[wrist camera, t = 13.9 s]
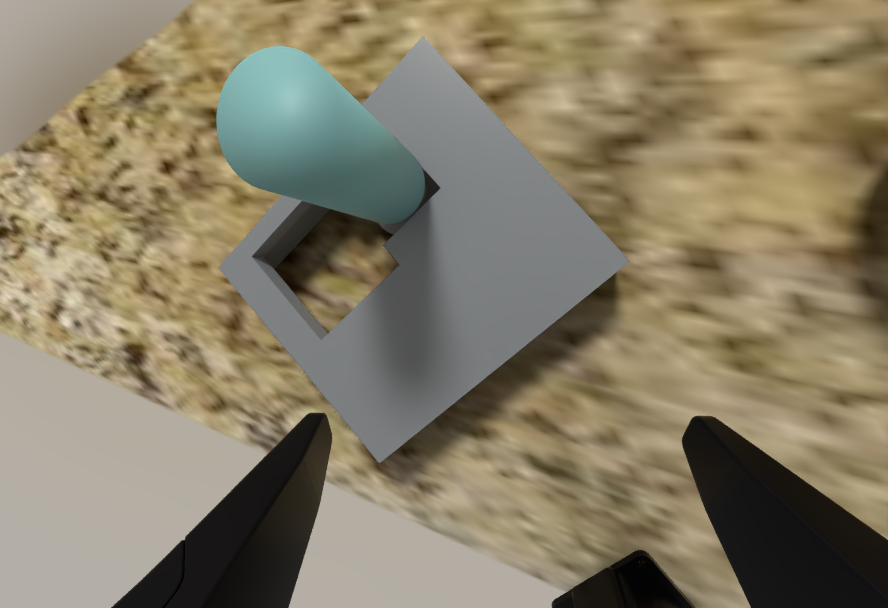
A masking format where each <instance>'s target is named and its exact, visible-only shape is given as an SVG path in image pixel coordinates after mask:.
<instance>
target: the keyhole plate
mask: <svg viewBox="0 0 888 608" xmlns="http://www.w3.org/2000/svg"><path fill="white" fill-rule="evenodd" d="M362 106H363V107H364V108H365V109H366V110H367V111H368V112H369V113H370V114H371V115H372V116H373V117H374V118H375V119H376V120H377V121H379V122H380V123H381V124H382V125H383V126H384V127H385V128H386V129H387V130H388V131H389V132H390V133H391V134H392V135H393V136H394V137H395V138H396V139H397V140H398V141H399V142H400V143H401V144H402V145H403V146H404V147H405V148H406V149H407V150H408V151H409V152H410V153H412V154H413V155H414V156H415V158H416V159H417V160H418V162H419V163H420V165H421V166H422V168H423V169H424V170H425V171H426V172H427V173H428V174H429V175H430V177H431V178H432V179H433V180H434V181H435V182H436V183H437V184H438V186H439V187H440V189H439V190H438V191H437V192H436V193H435V194H434V195H433V196H432V197H431V198H430V199H429V200H428V201H427V202H426V203H425V204H424V205H423V206H422V207H421V208H420V209H419V210H418V211H417V212H416V213H415V214H414V215H413V216H412V217H411V218H410V219H409V220H408V221H407V222H406V223H405V224H404V225H403V226H402V227H401V228H400V229H399V230H398V231H397V232H396V233H395V234H394V235H393V236H392V237H391V238H390V239H389V240H388V241H387V242H386V243H385V244H384V245H383V246H384V247H385V248H386V249H387V251H388V252H389V253H390V254H391V255H392V256H393V258H394V259H395V260H396V261H397V262H398V263H399V266H398V267H397V268H396V269H395V270H394V271H393V272H392V273H391V274H390V275H389V276H387V277H386V278H385V279H384V280H383V281H382V282H381V283H380V284H379V285H378V286H377V287H376V288H375V289H374V290H373V291H372V292H371V293H370V294H369V295H368V296H367V297H366V298H365V299H364V300H362V301H361V302H360V303H359V304H358V305H357V306H356V307H355V308H354V309H353V310H352V311H351V312H350V313H349V314H348V315H347V316H346V317H345V318H344V319H343V320H342V321H341V322H340V323H339V324H337V325H336V326H335V327H334V328H333V329H332V330H331V331H330V332H329V333H327V332H326V331H325V330H324V329H323V327H322V326H321V325H320V324H319V323H318V321H317V320H316V319H315V318H314V317H313V315H312V314H311V313H310V312H309V311H308V309H307V308H306V307H305V306H304V305H303V303H302V302H301V301H300V300H299V299H298V297H297V296H296V295H295V294H294V293H293V291H292V290H291V289H290V288H289V287H288V285H287V284H286V283H285V282H284V281H283V279H282V278H281V277H280V276H279V275H278V273H277V272H276V271H275V270H274V269H275V268H276V267H277V266H278V265H279V264H280V263H281V262H282V261H283V260H284V259H285V258H286V256H287V255H288V254H289V253H290V252H291V251H292V250H293V249H294V248H295V247H296V246H297V245H298V244H299V243H300V242H301V240H302V239H303V238H304V237H305V236H306V235H307V234H308V233H309V232H310V231H311V230H312V229H313V228H314V227H315V225H316V224H317V223H318V222H319V221H320V220H321V219H322V218H323V217H324V216H325V215H326V214H327V213H328V212H329V210H330V209H329V208H325V207H322V206H318V205H315V204H311V203H308V202H304V201H301V200H297V199H294V198H290V197H287V196H284V195H282V196H281V197H280V198H279V199H278V200H277V202H276V203H275V204H274V205H273V206H272V207H271V208H270V210H269V211H268V212H267V213H266V214H265V215H264V216H263V217H262V219H261V220H260V221H259V222H258V223H257V224H256V225H255V227H254V228H253V229H252V230H251V231H250V232H249V233H248V234H247V236H246V237H245V238H244V239H243V240H242V241H241V242H240V243H239V245H238V246H237V247H236V248H235V249H234V250H233V251H232V253H231V254H230V255H229V256H228V257H227V258H226V259H225V260H224V262H223V263H222V264H221V265H220V266H219V267H218V268H219V269H220V270H221V271H222V273H223V274H224V275H225V276H226V277H227V279H228V280H229V281H230V282H231V284H232V285H233V286H234V287H235V288H236V290H237V291H238V292H239V293H240V294H241V296H242V297H243V298H244V299H245V301H246V302H247V303H248V304H249V305H250V307H251V308H252V309H253V310H254V311H255V313H256V314H257V315H258V316H259V318H260V319H261V320H262V321H263V322H264V324H265V325H266V326H267V327H268V329H269V330H270V331H271V332H272V333H273V335H274V336H275V337H276V338H277V339H278V341H279V342H280V343H281V344H282V346H283V347H284V348H285V349H286V350H287V352H288V353H289V354H290V355H291V356H292V358H293V359H294V360H295V361H296V363H297V364H298V365H299V366H300V367H301V369H302V370H303V371H304V372H305V373H306V375H307V376H308V377H309V378H310V380H311V381H312V382H313V383H314V384H315V386H316V387H317V388H318V389H319V391H320V392H321V393H322V394H323V395H324V397H325V398H326V399H327V400H328V401H329V403H330V404H331V405H332V406H333V408H334V409H335V410H336V411H337V412H338V414H339V415H340V416H341V417H342V418H343V420H344V421H345V422H346V423H347V425H348V426H349V427H350V428H351V429H352V431H353V432H354V433H355V434H356V435H357V437H358V438H359V439H360V440H361V442H362V443H363V444H364V445H365V446H366V448H367V449H368V450H369V451H370V452H371V454H372V455H373V456H374V457H375V459H376V460H377V461H378V462H379V463H381V462H382V461H383V460H384V459H386V458H387V457H388V456H389V455H391V454H392V453H393V452H394V451H395V450H397V449H398V448H399V447H400V446H402V445H403V444H404V443H405V442H407V441H408V440H409V439H410V438H412V437H413V436H414V435H415V434H417V433H418V432H419V431H420V430H422V429H423V428H424V427H425V426H426V425H428V424H429V423H430V422H431V421H433V420H434V419H435V418H436V417H438V416H439V415H440V414H441V413H443V412H444V411H445V410H446V409H448V408H449V407H450V406H451V405H453V404H454V403H455V402H456V401H457V400H459V399H460V398H461V397H462V396H464V395H465V394H466V393H467V392H469V391H470V390H471V389H472V388H474V387H475V386H476V385H477V384H479V383H480V382H481V381H482V380H484V379H485V378H486V377H487V376H488V375H490V374H491V373H492V372H493V371H495V370H496V369H497V368H498V367H500V366H501V365H502V364H503V363H505V362H506V361H507V360H508V359H510V358H511V357H512V356H513V355H514V354H516V353H517V352H518V351H519V350H521V349H522V348H523V347H524V346H526V345H527V344H528V343H529V342H531V341H532V340H533V339H534V338H536V337H537V336H538V335H539V334H541V333H542V332H543V331H544V330H545V329H547V328H548V327H549V326H550V325H552V324H553V323H554V322H555V321H557V320H558V319H559V318H560V317H562V316H563V315H564V314H565V313H567V312H568V311H569V310H570V309H572V308H573V307H574V306H575V305H576V304H578V303H579V302H580V301H581V300H583V299H584V298H585V297H586V296H588V295H589V294H590V293H591V292H593V291H594V290H595V289H596V288H598V287H599V286H600V285H601V284H603V283H604V282H605V281H606V280H607V279H609V278H610V277H611V276H612V275H614V274H615V273H616V272H617V271H619V270H620V269H621V268H622V267H624V266H625V265H626V264H627V263H629V262H630V261H629V260H628V259H627V257H626V256H625V255H624V254H623V253H622V252H621V251H620V250H619V249H618V248H617V247H616V245H615V244H614V243H613V242H612V241H611V240H610V239H609V238H608V237H607V236H606V235H605V233H604V232H603V231H602V230H601V229H600V228H599V227H598V226H597V225H596V224H595V223H594V221H593V220H592V219H591V218H590V217H589V216H588V215H587V214H586V213H585V212H584V211H583V210H582V208H581V207H580V206H579V205H578V204H577V203H576V202H575V201H574V200H573V199H572V198H571V196H570V195H569V194H568V193H567V192H566V191H565V190H564V189H563V188H562V187H561V186H560V184H559V183H558V182H557V181H556V180H555V179H554V178H553V177H552V176H551V175H550V174H549V173H548V171H547V170H546V169H545V168H544V167H543V166H542V165H541V164H540V163H539V162H538V161H537V159H536V158H535V157H534V156H533V155H532V154H531V153H530V152H529V151H528V150H527V149H526V147H525V146H524V145H523V144H522V143H521V142H520V141H519V140H518V139H517V138H516V137H515V136H514V134H513V133H512V132H511V131H510V130H509V129H508V128H507V127H506V126H505V125H504V124H503V122H502V121H501V120H500V119H499V118H498V117H497V116H496V115H495V114H494V113H493V112H492V110H491V109H490V108H489V107H488V106H487V105H486V104H485V103H484V102H483V101H482V100H481V98H480V97H479V96H478V95H477V94H476V93H475V92H474V91H473V90H472V89H471V88H470V87H469V85H468V84H467V83H466V82H465V81H464V80H463V79H462V78H461V77H460V76H459V75H458V73H457V72H456V71H455V70H454V69H453V68H452V67H451V66H450V65H449V64H448V63H447V61H446V60H445V59H444V58H443V57H442V56H441V55H440V54H439V53H438V52H437V51H436V50H435V48H434V47H433V46H432V45H431V44H430V43H429V42H428V41H427V40H426V39H425V38H424V36H422V38H421V39H420V40H419V41H418V42H417V43H416V44H415V46H414V47H413V48H412V49H411V50H410V51H409V52H408V53H407V55H406V56H405V57H404V58H403V59H402V60H401V61H400V62H399V64H398V65H397V66H396V67H395V68H394V69H393V70H392V72H391V73H390V74H389V75H388V76H387V77H386V78H385V79H384V81H383V82H382V83H381V84H380V85H379V86H378V87H377V88H376V90H375V91H374V92H373V93H372V94H371V95H370V96H369V98H368V99H367V100H366V101H365V102H364V103H363V104H362Z"/></svg>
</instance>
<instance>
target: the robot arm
mask: <svg viewBox="0 0 888 608" xmlns="http://www.w3.org/2000/svg"><path fill="white" fill-rule="evenodd" d="M331 444H332V433H331V429H330V425H329V422H328V418H327V415H326V414H325V413H309V414H307V415H306V416H305V417H304V418H303V419H302V420H301V421H300V422H299V423H298V424H297V425H296V426H295V427H294V428H293V429H292V430H291V431H290V432H289V433H288V434H287V435H286V436H285V437H284V438H283V439H282V440H281V441H280V442H279V443H278V444H277V445H276V446H275V447H274V448H273V449H272V450H271V451H270V452H269V453H268V454H267V455H266V456H265V457H264V458H263V460H261V461H260V462H259V463H258V464H257V465H256V466H255V467H254V468H253V469H252V471H250V472H249V473H248V474H247V475H246V476H245V477H244V478H243V479H242V480H241V481H240V482H239V483H238V485H236V486H235V487H234V489H233V490H232V491H231V492H230V493H229V494H228V495H227V496H226V497H225V498H224V499H223V500H222V501H221V502H220V503H219V504H218V505H217V506H216V507H215V508H214V509H213V510H212V511H211V512H210V513H209V514H208V515H207V516H206V517H205V518H204V519H203V520H202V521H201V522H200V523H199V524H198V525H197V526H196V527H195V528H194V529H193V530H192V531H191V532H190V533H189V534H188V535H187V536H186V537H185V540H182V541H181V542H180V543H179V544H178V545H177V546H176V547H175V548H174V549H173V550H172V551H171V552H170V553H169V554H168V555H167V556H166V557H165V558H164V559H163V560H162V561H161V562H159V563H158V564H157V565H156V566H155V567H154V568H153V569H152V570H151V571H150V572H149V573H148V574H147V575H146V576H145V577H144V578H143V579H142V580H141V581H140V582H139V583H138V584H137V585H136V586H135V587H133V588H132V589H131V590H130V591H129V592H128V593H127V594H126V595H125V596H123V597H122V598H121V599H120V600H119V601H118V602H117V603H116V604H115V605H114V606H113V607H111V608H288V607H289V604H290V601H291V597H292V594H293V591H294V588H295V584H296V581H297V578H298V574H299V571H300V568H301V565H302V562H303V558H304V555H305V552H306V549H307V545H308V542H309V539H310V535H311V532H312V529H313V525H314V522H315V519H316V516H317V512H318V508H319V505H320V501H321V496H322V491H323V485H324V481H325V475H326V470H327V465H328V460H329V455H330V449H331ZM682 445H683V449H684V452H685V455H686V457H687V460H688V463H689V466H690V469H691V472H692V474H693V477H694V480H695V483H696V486H697V489H698V491H699V494H700V497H701V500H702V502H703V505H704V507H705V510H706V512H707V514H708V517H709V519H710V521H711V523H712V525H713V528H714V530H715V532H716V534H717V536H718V538H719V540H720V542H721V545H722V547H723V549H724V551H725V553H726V555H727V557H728V559H729V562H730V564H731V566H732V568H733V570H734V572H735V574H736V577H737V579H738V581H739V583H740V585H741V587H742V589H743V591H744V594H745V596H746V598H747V600H748V602H749V604H750V606H751V608H888V540H887V539H886V538H884V537H883V536H882V535H880V534H879V533H877V532H876V531H875V530H873V529H872V528H870V527H869V526H867V525H866V524H865V523H863V522H862V521H860V520H859V519H858V518H856V517H855V516H853V515H852V514H851V513H849V512H848V511H846V510H845V509H843V508H842V507H841V506H839V505H838V504H836V503H835V502H834V501H832V500H831V499H829V498H828V497H827V496H825V495H824V494H822V493H821V492H820V491H818V490H817V489H815V488H814V487H812V486H811V485H810V484H808V483H807V482H805V481H804V480H803V479H801V478H800V477H798V476H797V475H796V474H794V473H793V472H791V471H790V470H789V469H787V468H786V467H784V466H783V465H781V464H780V463H779V462H777V461H776V460H774V459H773V458H772V457H770V456H769V455H767V454H766V453H765V452H763V451H762V450H760V449H759V448H758V447H756V446H755V445H753V444H752V443H750V442H749V441H748V440H746V439H745V438H743V437H742V436H741V435H739V434H738V433H736V432H735V431H734V430H732V429H731V428H729V427H728V426H726V425H725V424H724V423H722V422H721V421H719V420H718V419H716V418H715V417H712V416H695V417H693V418H692V419H691V421H690V423H689V425H688V427H687V429H686V431H685V433H684V435H683V437H682ZM640 560H645V563H639V561H640ZM552 608H695V607H694V606H693V605H692V603H691V602H690V601H689V600H688V599H687V598H686V596H685V595H684V594H683V593H682V592H681V591H680V589H679V588H678V587H677V586H676V585H675V584H674V583H673V581H672V580H671V579H670V578H669V577H668V576H667V574H666V573H665V572H664V571H663V570H662V569H661V568H660V566H659V565H658V564H657V563H656V562H655V561H654V559H653V558H652V557H651V556H650V555H649V554H648V553H647V552H645V551H643V550H637V551H635V552H633V553H631V554H630V555H628V556H626V557H625V558H623V559H621V560H620V561H618V562H616V563H615V564H613V565H611V566H610V567H608V568H605V569H604V570H602V571H600V572H599V573H597V574H595V575H594V576H592V577H590V578H589V579H587V580H585V581H584V582H582V583H580V584H579V585H577V586H575V587H574V588H573V589H571V590H570V591H568V592H566V593H565V594H563V595H561V596H560V597H558V598H556V599H555V600H554V601H553V602H552Z"/></svg>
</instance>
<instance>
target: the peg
mask: <svg viewBox="0 0 888 608" xmlns="http://www.w3.org/2000/svg"><path fill="white" fill-rule="evenodd" d="M217 133H218V139H219V143H220V146H221V149H222V151H223V154H224V156H225V158H226V160H227V162H228V163H229V165H230V166H231V168H232V169H233V170H234V171H235V172H236V173H237V175H238V176H239V177H241V178H242V179H243V180H244V181H246V182H247V183H249V184H251V185H252V186H255V187H257V188H259V189H263V190H266V191H270V192H273V193H277V194H280V195H284V196H287V197H290V198H294V199H297V200H301V201H304V202H308V203H311V204H315V205H318V206H322V207H325V208H329V209H332V210H336V211H339V212H343V213H346V214H350V215H353V216H357V217H360V218H363V219H367V220H370V221H374V222H377V223H378V224H379V225H380V226H381V227H382V228H383V229H384V230H386V231H387V232H389V233H391V234H393V235H394V234H395V233H396V232H397V231H398V230H399V229H400V228H401V227H402V226H403V225H404V224H405V223H406V222H407V221H408V220H409V219H410V218H411V217H412V216H413V215H414V214H415V213H416V212H417V211H418V210H419V209H420V208H421V207H422V206H423V205H424V204H425V203H426V202H427V201H428V200H429V199H430V198H431V197H432V196H433V195H434V194H435V193H436V192H437V191H438V190H439V189H440V187H439V186H438V184H437V183H436V182H435V181H434V180H433V179H432V178H431V177H430V175H429V174H428V173H427V172H426V171H425V170H424V169H423V168H422V166H421V165H420V163H419V162H418V160H417V159H416V158H415V156H414V155H413V154H412V153H410V152H409V151H408V150H407V149H406V148H405V147H404V146H403V145H402V144H401V143H400V142H399V141H398V140H397V139H396V138H395V137H394V136H393V135H392V134H391V133H390V132H389V131H388V130H387V129H386V128H385V127H384V126H383V125H382V124H381V123H380V122H379V121H377V120H376V119H375V118H374V117H373V116H372V115H371V114H370V113H369V112H368V111H367V110H366V109H365V108H364V107H363V106H362V105H361V104H360V103H359V102H358V101H357V100H356V99H355V98H354V97H353V96H352V95H351V94H350V93H349V92H348V91H347V90H346V89H345V88H343V87H342V86H341V85H340V84H339V83H338V82H337V81H336V80H335V79H334V78H333V77H332V76H331V75H330V74H329V73H328V72H327V71H326V70H325V69H324V68H323V67H322V66H321V65H320V64H319V63H318V62H317V61H316V60H315V59H313V58H312V57H311V56H309V55H308V54H306V53H304V52H302V51H300V50H297V49H294V48H291V47H285V46H274V47H268V48H265V49H261V50H259V51H257V52H255V53H253V54H251V55H250V56H248V57H247V58H245V59H244V60H243V61H242V62H241V63H239V64H238V66H237V67H236V68H235V69H234V70H233V71H232V73H231V74H230V76H229V77H228V79H227V81H226V83H225V85H224V87H223V90H222V92H221V95H220V99H219V103H218V109H217Z"/></svg>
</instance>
